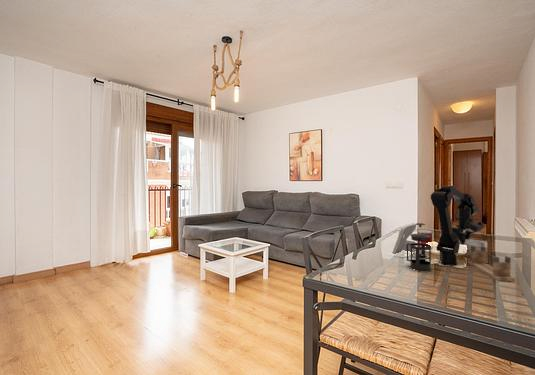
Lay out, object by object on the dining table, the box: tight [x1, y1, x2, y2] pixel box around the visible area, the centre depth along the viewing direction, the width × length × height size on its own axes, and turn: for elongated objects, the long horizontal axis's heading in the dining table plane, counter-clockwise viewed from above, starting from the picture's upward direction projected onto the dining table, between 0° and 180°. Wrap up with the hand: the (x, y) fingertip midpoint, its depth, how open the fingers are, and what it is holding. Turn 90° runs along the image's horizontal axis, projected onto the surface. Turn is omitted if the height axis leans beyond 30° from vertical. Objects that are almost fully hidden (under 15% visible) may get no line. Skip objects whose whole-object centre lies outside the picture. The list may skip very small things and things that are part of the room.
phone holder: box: [391, 222, 417, 254], centre depth 166 cm, size 17×10×18 cm, turn 129°
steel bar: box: [459, 238, 488, 249], centre depth 156 cm, size 2×22×3 cm, turn 21°
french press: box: [406, 222, 432, 272], centre depth 140 cm, size 12×9×23 cm
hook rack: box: [467, 245, 516, 283], centre depth 132 cm, size 6×24×10 cm, turn 171°
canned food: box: [417, 229, 433, 247], centre depth 176 cm, size 8×8×11 cm
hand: (464, 244), depth 156 cm, fingers closed on steel bar, 2 cm apart
